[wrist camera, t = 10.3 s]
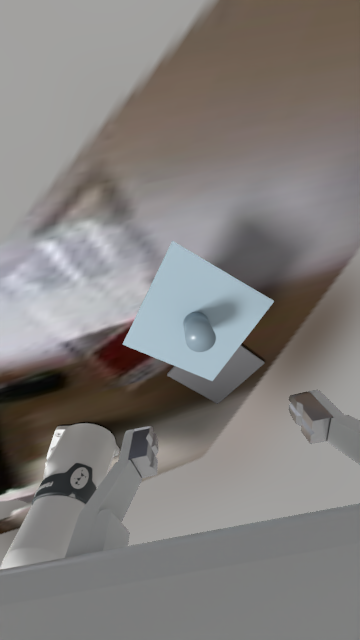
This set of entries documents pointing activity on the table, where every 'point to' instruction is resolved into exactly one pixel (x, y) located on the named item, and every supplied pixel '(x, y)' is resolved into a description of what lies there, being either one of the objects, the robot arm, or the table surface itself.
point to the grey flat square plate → (220, 376)
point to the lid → (195, 314)
